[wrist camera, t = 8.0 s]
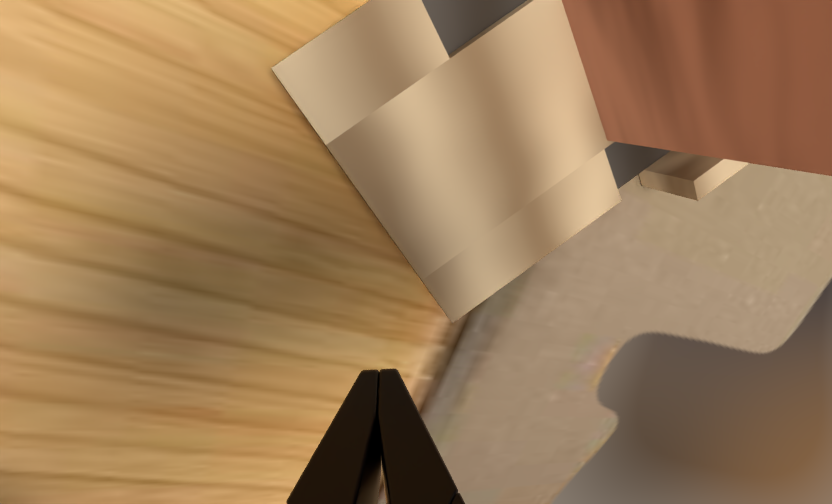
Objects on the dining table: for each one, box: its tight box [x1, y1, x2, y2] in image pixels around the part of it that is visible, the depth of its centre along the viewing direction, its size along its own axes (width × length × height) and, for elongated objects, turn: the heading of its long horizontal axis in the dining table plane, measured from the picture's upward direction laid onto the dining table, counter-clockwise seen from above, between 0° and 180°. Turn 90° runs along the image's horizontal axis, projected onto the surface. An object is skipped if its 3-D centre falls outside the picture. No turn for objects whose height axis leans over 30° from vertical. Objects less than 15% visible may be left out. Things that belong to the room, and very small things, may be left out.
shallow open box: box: [271, 0, 749, 323], centre depth 18 cm, size 25×16×4 cm, turn 122°
